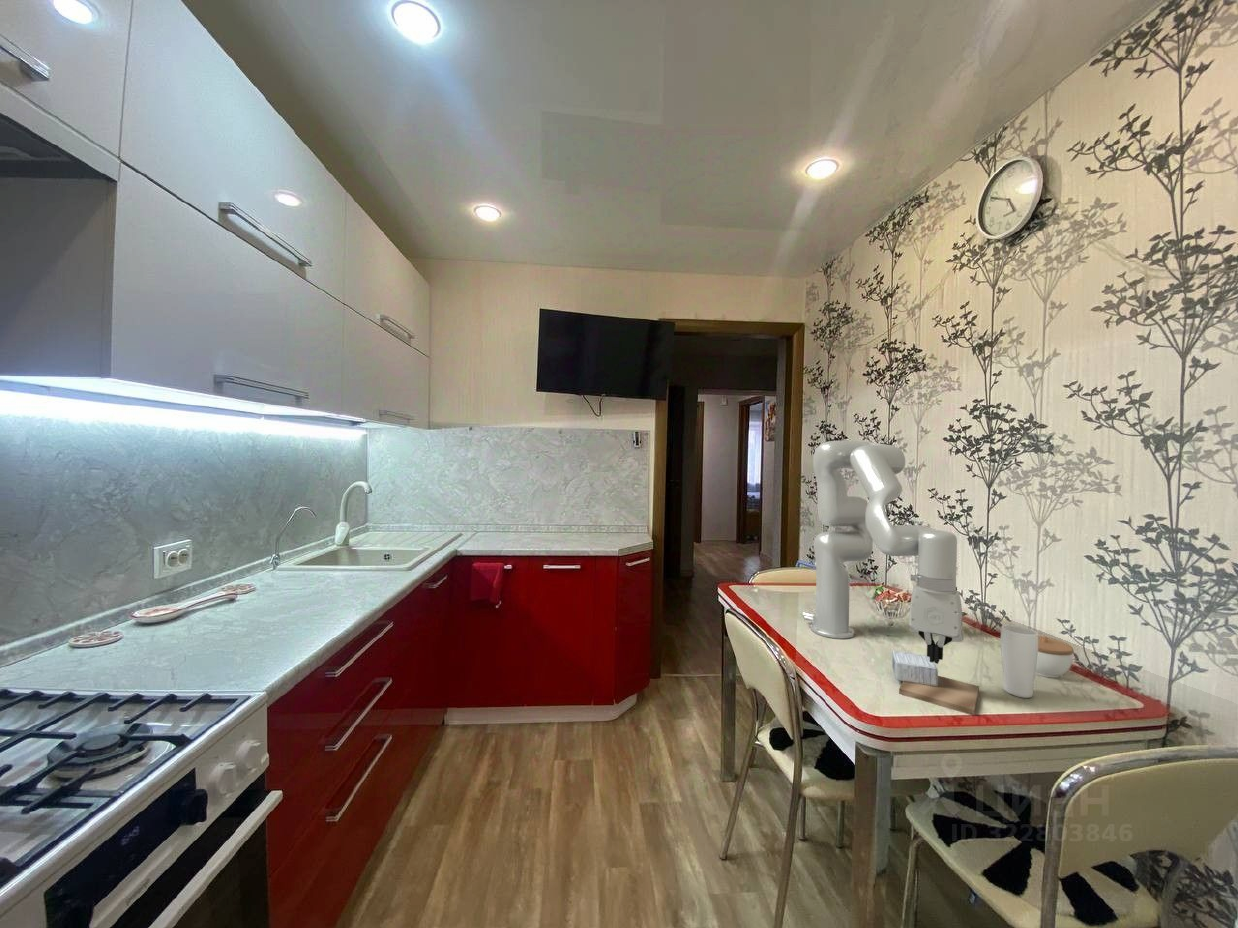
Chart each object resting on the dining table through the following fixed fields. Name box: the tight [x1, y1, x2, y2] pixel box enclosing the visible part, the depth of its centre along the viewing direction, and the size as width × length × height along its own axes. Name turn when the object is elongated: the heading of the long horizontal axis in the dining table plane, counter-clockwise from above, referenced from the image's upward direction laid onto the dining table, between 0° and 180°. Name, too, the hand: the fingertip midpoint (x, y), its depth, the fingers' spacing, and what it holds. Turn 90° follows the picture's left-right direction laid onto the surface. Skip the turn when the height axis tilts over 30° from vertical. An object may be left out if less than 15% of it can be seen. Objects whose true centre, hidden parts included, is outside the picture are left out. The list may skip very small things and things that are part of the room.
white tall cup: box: [1000, 624, 1039, 699], centre depth 111 cm, size 7×7×15 cm
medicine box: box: [891, 650, 939, 686], centre depth 117 cm, size 8×4×9 cm
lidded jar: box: [1035, 635, 1074, 679], centre depth 123 cm, size 11×11×9 cm
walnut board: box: [898, 675, 980, 716], centre depth 111 cm, size 14×14×1 cm
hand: (934, 660), depth 112 cm, fingers closed
